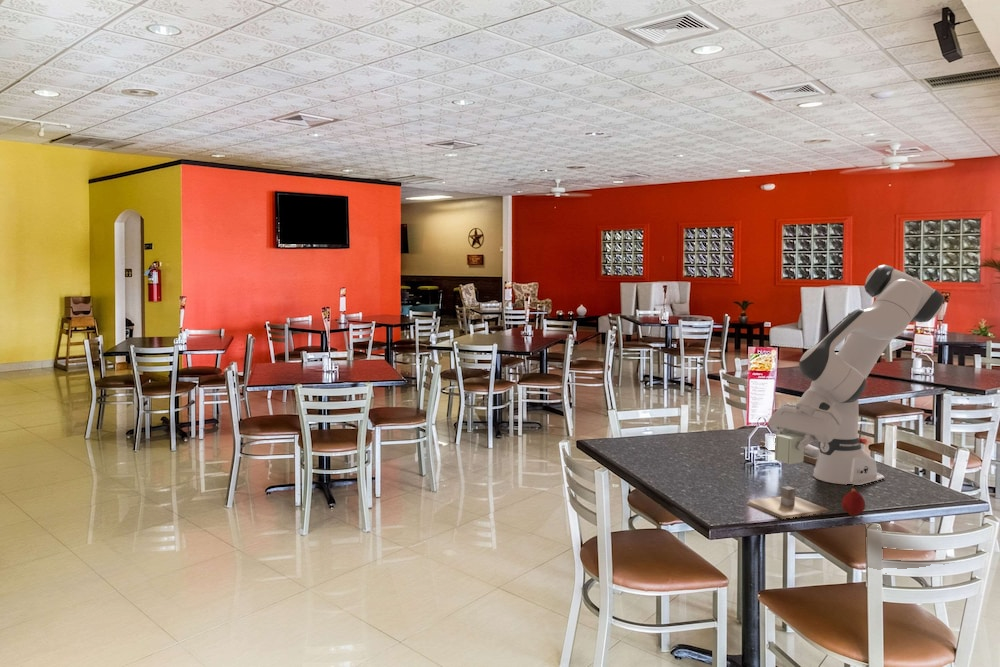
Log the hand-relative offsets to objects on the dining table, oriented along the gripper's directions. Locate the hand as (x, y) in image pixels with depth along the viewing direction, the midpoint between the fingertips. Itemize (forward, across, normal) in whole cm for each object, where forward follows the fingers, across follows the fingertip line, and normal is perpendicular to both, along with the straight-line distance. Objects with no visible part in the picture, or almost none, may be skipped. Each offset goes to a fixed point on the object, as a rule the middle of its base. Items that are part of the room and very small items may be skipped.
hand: (788, 446), depth 211 cm
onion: (+5, +13, +21) cm, 25 cm away
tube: (-26, -42, +52) cm, 72 cm away
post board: (+12, 0, +13) cm, 18 cm away
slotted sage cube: (+3, 0, +4) cm, 4 cm away
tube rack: (-26, -42, +52) cm, 71 cm away
